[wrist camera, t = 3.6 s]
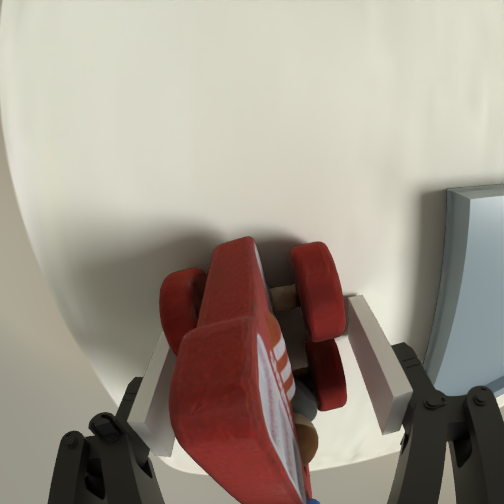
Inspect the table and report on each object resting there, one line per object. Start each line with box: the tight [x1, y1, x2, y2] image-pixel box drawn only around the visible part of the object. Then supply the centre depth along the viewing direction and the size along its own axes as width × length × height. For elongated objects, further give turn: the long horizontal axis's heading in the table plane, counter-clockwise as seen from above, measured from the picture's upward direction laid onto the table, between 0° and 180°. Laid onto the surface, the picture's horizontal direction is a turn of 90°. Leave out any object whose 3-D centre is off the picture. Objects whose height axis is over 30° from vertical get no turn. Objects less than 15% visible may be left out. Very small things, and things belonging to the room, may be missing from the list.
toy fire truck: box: [159, 236, 347, 504], centre depth 10 cm, size 7×12×10 cm, turn 13°
